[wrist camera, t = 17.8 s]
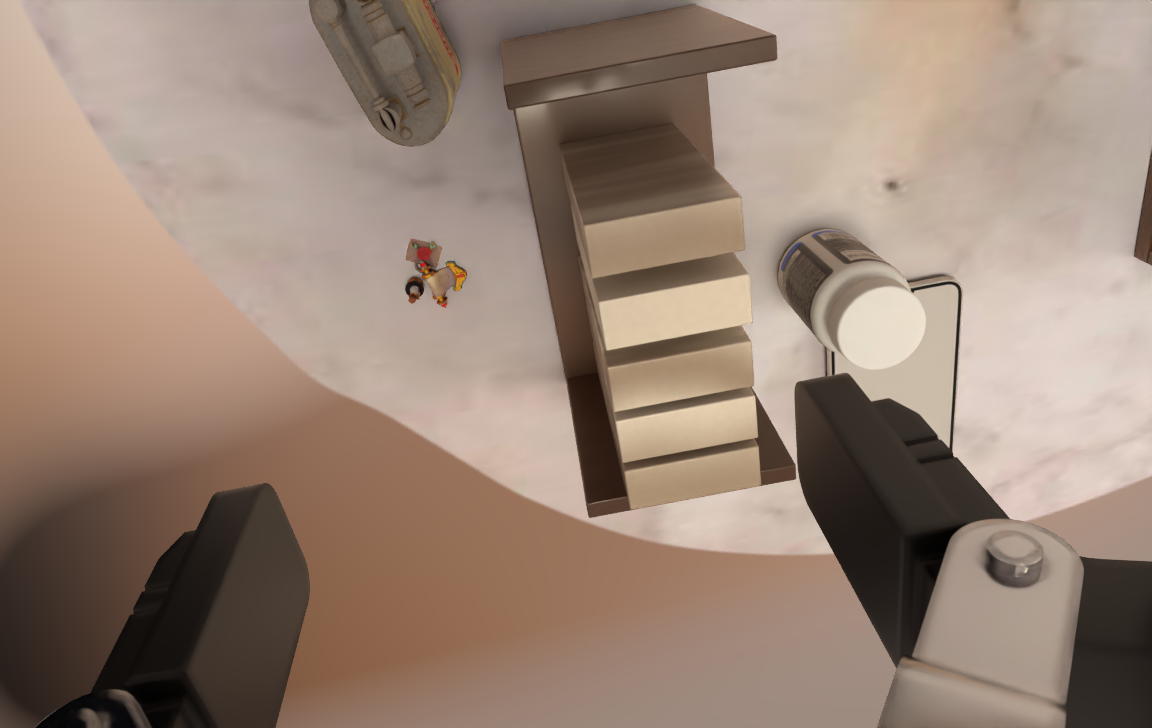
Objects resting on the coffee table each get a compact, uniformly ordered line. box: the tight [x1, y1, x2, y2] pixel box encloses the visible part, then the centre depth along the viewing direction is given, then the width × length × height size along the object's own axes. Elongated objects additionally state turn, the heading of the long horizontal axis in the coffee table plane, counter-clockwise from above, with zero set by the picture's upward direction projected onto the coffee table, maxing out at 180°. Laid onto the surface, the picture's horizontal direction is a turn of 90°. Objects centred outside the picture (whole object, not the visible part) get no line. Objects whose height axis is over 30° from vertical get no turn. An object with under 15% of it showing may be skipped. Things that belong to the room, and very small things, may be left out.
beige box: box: [571, 206, 752, 350], centre depth 35 cm, size 2×6×12 cm, turn 99°
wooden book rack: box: [501, 5, 796, 518], centre depth 36 cm, size 18×9×13 cm, turn 9°
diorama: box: [405, 239, 467, 308], centre depth 41 cm, size 3×4×2 cm
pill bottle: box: [778, 229, 926, 370], centre depth 40 cm, size 5×5×8 cm
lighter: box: [309, 0, 461, 147], centre depth 32 cm, size 7×4×10 cm, turn 24°
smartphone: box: [827, 276, 963, 452], centre depth 48 cm, size 7×1×15 cm
